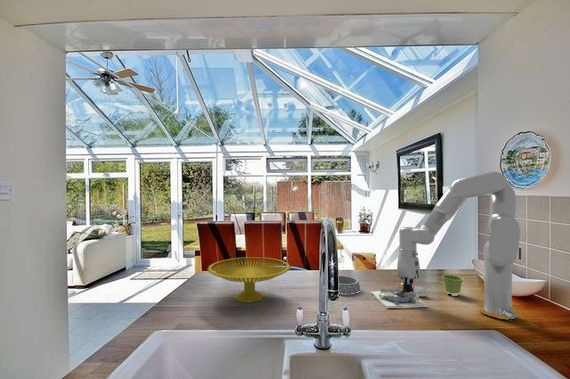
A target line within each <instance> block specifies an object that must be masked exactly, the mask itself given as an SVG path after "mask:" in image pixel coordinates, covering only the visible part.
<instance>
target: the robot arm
mask: <svg viewBox="0 0 570 379" xmlns="http://www.w3.org/2000/svg"><path fill="white" fill-rule="evenodd" d="M485 195H490V196H489V197H490V201H491V202H490V213H489V219H488V224H487V228H488V231H489V232H490V233H489V239H488V241H486V243H485V244H484V246H483V266H484V267H483V268H484V269H483V272H484V275H483V277H484V278H483V281H484V282H483V290H484V291H483V296H484V297H483V306H484V309H485V310H486V311H487V312H489V313H492V314H495V315H499V316H505V317H509V318H511V319H515V317H516V318H518V316H519V314H518V313H516V312H514V307H512V305H513V303H512V302H513V301H512V300H513V299H512V298H513V296H512V295H513V294H512V293H513V286H512V285H513V284H512V283H513V269H512V268H513V266H512V265H513V264H514V263H515V262H516V260H517V257H518V255H519V254H518V253H519V245H520V240H521V239H520V237H521V227H520V224H519V221H518V220H517V219H516V209H517V208H516V207H517V195H516V192H515V190H514V188H513V186H512V184H510V183H509V182H508V180H507V178H506V176H505V175H504V174H503V173H502V172H499V171H490V172H488V171H487V172H485V173H481V174H477V175H472V176H469V177H464V178H458V179H456V180H454V181H453V182H452V183H450V186H449V187H448V188H447V190H446V191H445V192H444V193H443V195H442V196H441V198H440V199H439V200H438V201H437V202H436V204H435V206H434V207H433V209H432V211H431V212H430V214H429V215H428V216H427V218H426V220H425V221H424V222H423V223H422V225H421V226H420V228H415V227H414V226H413V227H412V226H401V227H400V228H399V232H398V234H399V238H398V239H399V250H398V251H399V254H398V257H397V263H396V264H397V265H396V267H397V268H396V272H397V274H398V278H400V279H402V280H403V283H404V292H407V293H408V292H410V293H413V292H412V289H413V288H412V286H413V283H418V282H419V278H421V265H420V260H419V257H418V255H419V253H418V250H417V246H418V245H417V244H419V245H425V246H427V245H428V246H429V245H431V244H432V243H434V240H435V237H436V236H437V234H438V233H439V231H440V230H441V229H442V228H443V226H444V225H445V224H446V223H447V222H449V221H450V220H451V219H452V218H453V217H454V216H455V215H456V213H457V212H458V210H459V209H460V208H461V207H462V205H464V203H465V201H466V200H467V199H469V198H470V199H471V198H475V197H480V196H481V197H482V196H485ZM515 320H516V319H515Z"/></svg>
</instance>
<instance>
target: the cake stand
mask: <svg viewBox="0 0 570 379" xmlns="http://www.w3.org/2000/svg"><path fill="white" fill-rule="evenodd" d="M291 268H292V266H291V265H290V263H288V262H287V261H284V260H282V259H277V258H272V257H261V256H260V257H257V256H256V257H255V256H253V257H252V256H251V257H250V256H249V257H247V256H245V257H234V258H228V259H223V260H222V259H221V260H219V261H216V262H214V263H212V264H210V265H209V266H208V267H207V272H208V273H210V274H211V275H213V276H215V277H218V278H221V279H223V280H226V281H229V282H234V283H236V282H237V283H243V284H244V285H243V287H244V289H243V291H241V292H239V293H237V294H236V295H235V296H234V299H235V300H236V301H238V302H241V303H255V301H256V302H259V301H262V300H263V299H264V298H265V295H264V294H263V293H262V292H259V291H257V290H256V283H257V282H266V281H269V280H272V279H274V278H276V277H277V278H278V276H281V275H283V274H286V273H287V272H289V271H290V270H291ZM263 297H264V298H263ZM262 298H263V299H262ZM261 299H262V300H261ZM258 300H259V301H258Z"/></svg>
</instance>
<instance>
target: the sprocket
mask: <svg viewBox="0 0 570 379" xmlns="http://www.w3.org/2000/svg"><path fill="white" fill-rule="evenodd" d="M380 291H381V294H379V298H380V299H382V298H384V299H386V300H389V301H392V302H394V303H395V304H398V303H408V302H411V303H416V299H414V297H417V296H416V294H415V293H414V292H408V293H407V292H404V283H401V288H400V287H397V288H395V289H393V288H388V289H386V288H381V289H380Z"/></svg>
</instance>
